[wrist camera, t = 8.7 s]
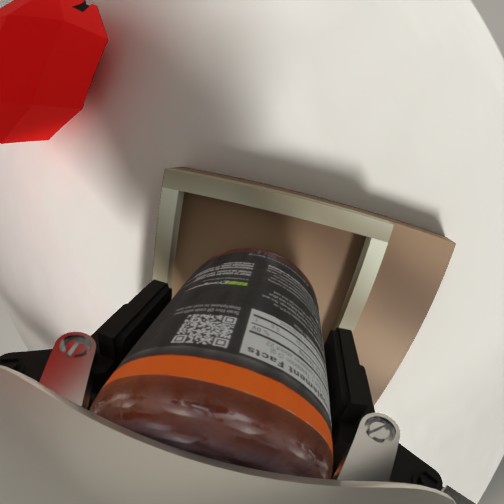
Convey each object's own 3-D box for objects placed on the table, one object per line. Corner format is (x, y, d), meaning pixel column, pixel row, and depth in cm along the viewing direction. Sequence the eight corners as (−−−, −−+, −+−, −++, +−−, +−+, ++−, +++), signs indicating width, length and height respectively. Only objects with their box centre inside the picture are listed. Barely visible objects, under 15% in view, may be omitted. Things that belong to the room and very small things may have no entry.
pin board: (331, 448, 19) (332, 496, 14) (160, 408, 20) (137, 453, 15) (445, 236, 13) (494, 270, 8) (181, 166, 14) (131, 174, 9)
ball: (143, 19, 11) (56, -36, 4) (94, 146, 14) (-14, 157, 7) (58, 20, 11) (-20, -4, 4) (22, 124, 14) (-63, 131, 7)
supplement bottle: (235, 372, 15) (168, 577, 4) (165, 282, 13) (-5, 473, 3) (341, 327, 13) (370, 586, 2) (274, 216, 12) (147, 548, 1)
